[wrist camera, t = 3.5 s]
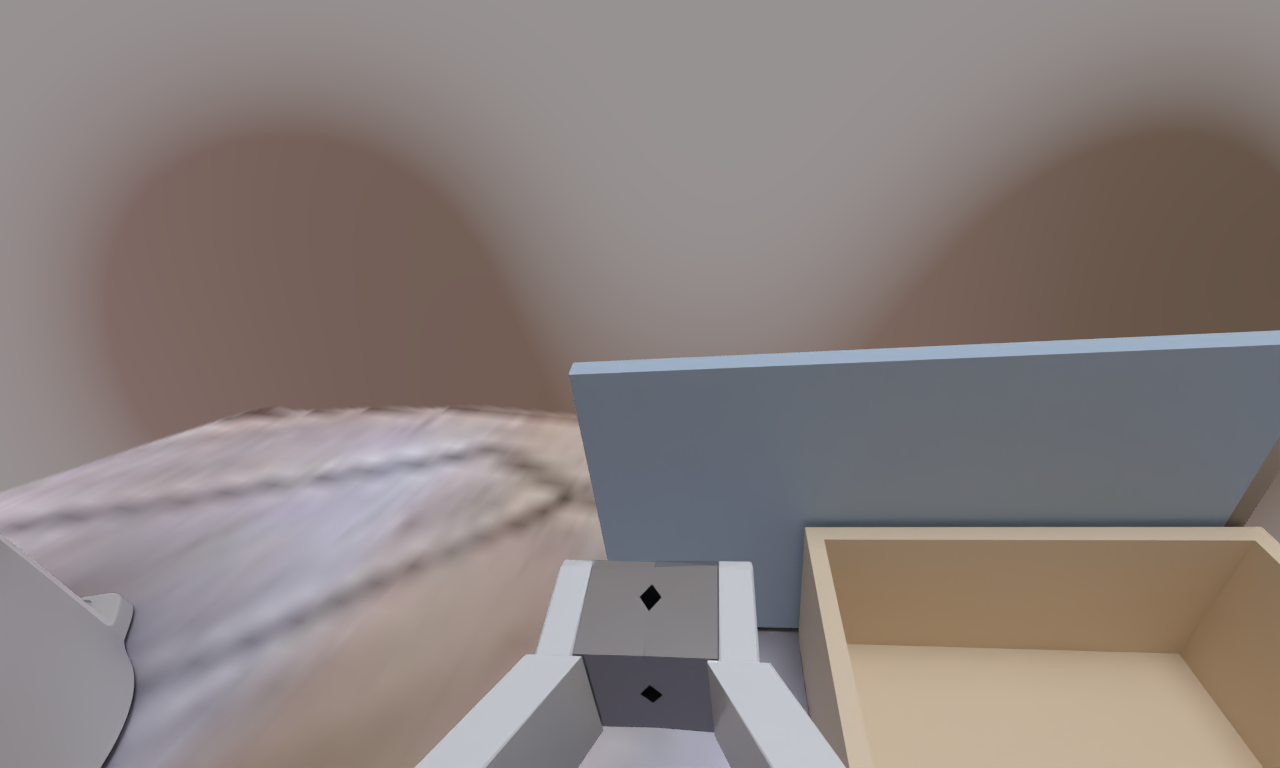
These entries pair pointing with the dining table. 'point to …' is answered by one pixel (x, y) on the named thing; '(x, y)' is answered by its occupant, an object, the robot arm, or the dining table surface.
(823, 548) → the tray
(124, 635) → the robot arm
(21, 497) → the dining table surface
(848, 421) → the flap
